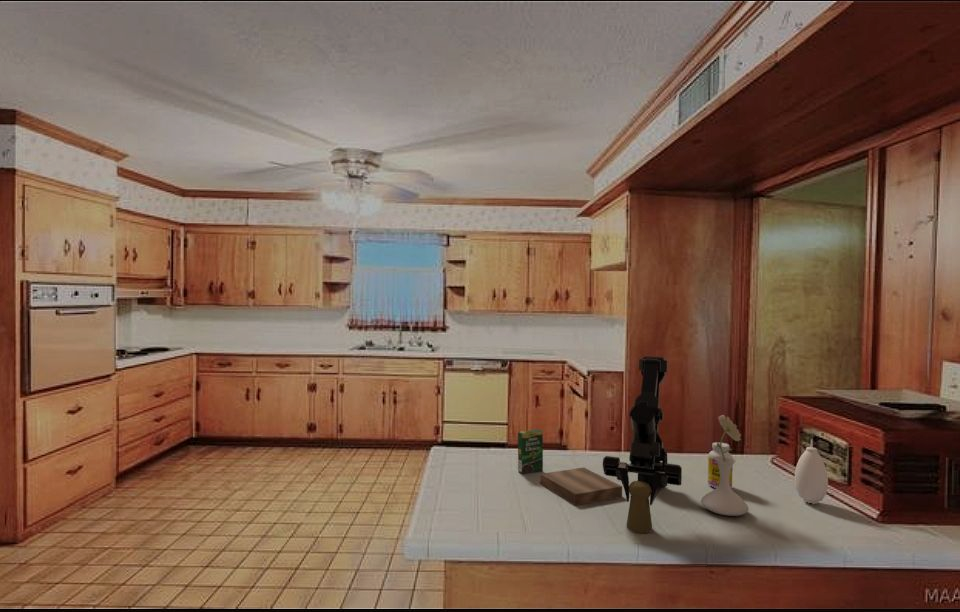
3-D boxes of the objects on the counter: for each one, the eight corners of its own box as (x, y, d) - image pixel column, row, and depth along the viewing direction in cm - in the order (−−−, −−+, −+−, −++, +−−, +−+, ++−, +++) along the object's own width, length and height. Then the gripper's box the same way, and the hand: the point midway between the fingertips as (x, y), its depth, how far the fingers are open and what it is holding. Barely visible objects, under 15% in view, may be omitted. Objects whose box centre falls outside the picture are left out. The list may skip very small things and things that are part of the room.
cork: (652, 524, 127) (653, 480, 127) (652, 534, 122) (653, 488, 122) (627, 520, 129) (627, 477, 129) (625, 530, 124) (626, 485, 123)
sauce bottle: (825, 501, 145) (827, 437, 145) (829, 510, 138) (830, 443, 138) (793, 495, 149) (794, 433, 149) (795, 504, 142) (796, 439, 142)
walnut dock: (583, 476, 162) (583, 467, 162) (622, 496, 146) (622, 486, 146) (540, 483, 155) (540, 473, 155) (575, 505, 139) (575, 494, 139)
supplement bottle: (708, 488, 153) (708, 445, 153) (707, 481, 160) (708, 440, 159) (733, 492, 151) (733, 448, 151) (731, 485, 157) (732, 442, 157)
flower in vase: (752, 522, 130) (754, 423, 129) (703, 516, 133) (705, 419, 133) (742, 503, 142) (744, 413, 142) (697, 498, 145) (699, 410, 145)
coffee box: (521, 474, 164) (521, 433, 164) (516, 471, 166) (517, 431, 166) (543, 471, 167) (543, 431, 167) (538, 468, 170) (539, 429, 169)
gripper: (604, 424, 132) (596, 481, 122) (682, 432, 125) (680, 493, 115) (608, 447, 140) (601, 502, 130) (682, 455, 133) (680, 514, 123)
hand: (639, 502), depth 124 cm, fingers closed on cork, 5 cm apart
